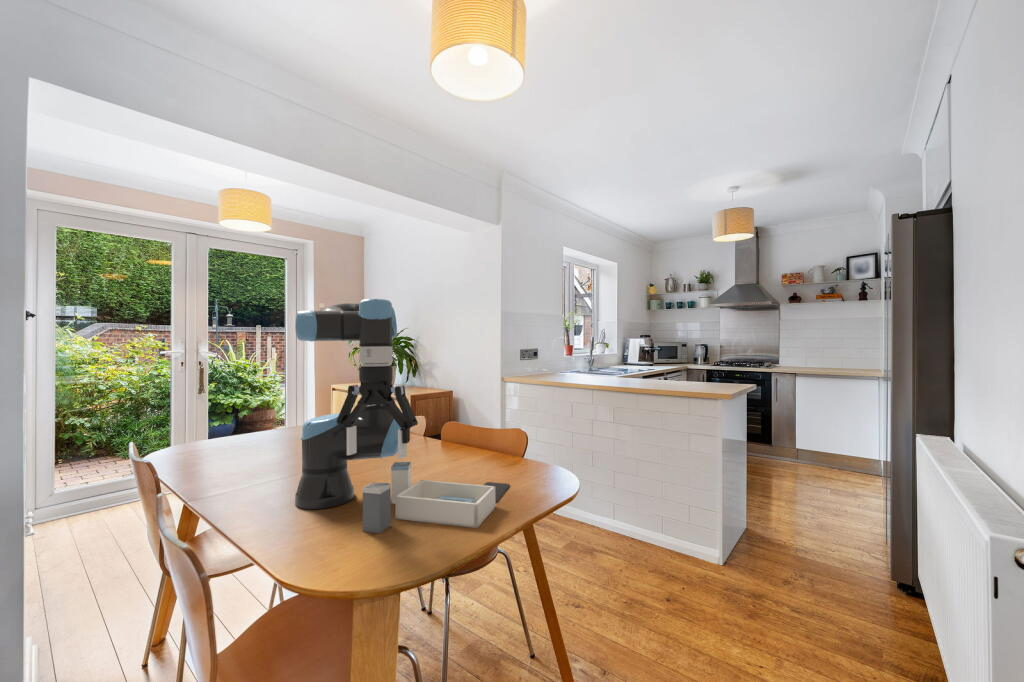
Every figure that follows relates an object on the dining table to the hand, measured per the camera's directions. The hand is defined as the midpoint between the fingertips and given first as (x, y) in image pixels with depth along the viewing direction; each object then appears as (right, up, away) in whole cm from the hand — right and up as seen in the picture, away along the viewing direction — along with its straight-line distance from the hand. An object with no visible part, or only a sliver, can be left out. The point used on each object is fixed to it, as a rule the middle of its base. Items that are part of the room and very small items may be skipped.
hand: (376, 455), depth 103 cm
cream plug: (+1, -17, +19) cm, 25 cm away
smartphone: (+26, -18, +24) cm, 39 cm away
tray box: (+15, -17, +9) cm, 25 cm away
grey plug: (0, -17, 0) cm, 17 cm away
